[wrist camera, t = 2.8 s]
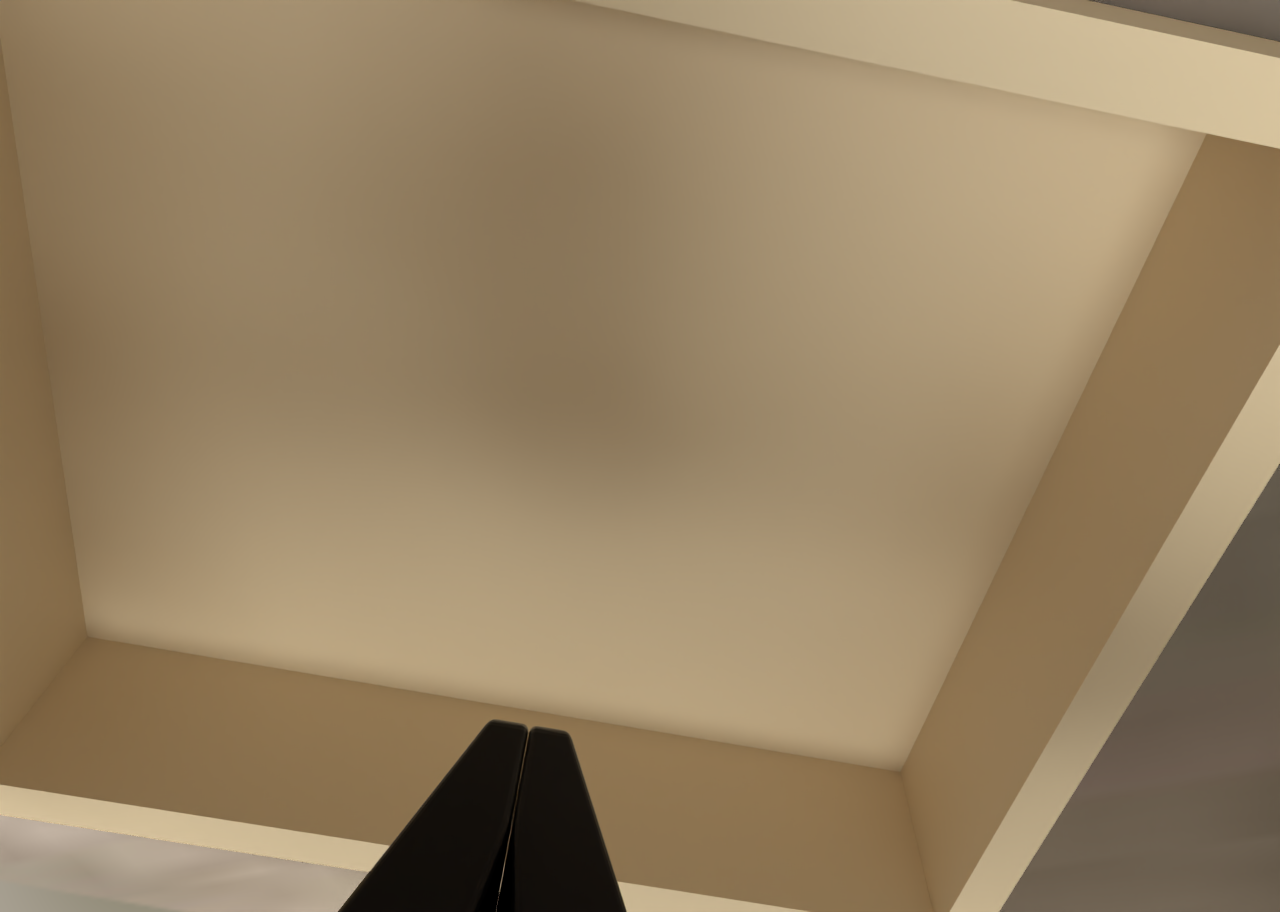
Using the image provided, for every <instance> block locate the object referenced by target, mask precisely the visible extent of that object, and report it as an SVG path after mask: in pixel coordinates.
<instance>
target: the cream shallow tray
mask: <svg viewBox="0 0 1280 912" xmlns="http://www.w3.org/2000/svg"><path fill="white" fill-rule="evenodd" d="M1279 464H1280V42H1278V41H1273V40H1269V39H1264V38H1260V37H1255V36H1250V35H1246V34H1241V33H1237V32H1232V31H1227V30H1223V29H1218V28H1214V27H1209V26H1204V25H1200V24H1195V23H1191V22H1186V21H1181V20H1177V19H1172V18H1167V17H1163V16H1158V15H1154V14H1149V13H1144V12H1140V11H1135V10H1131V9H1126V8H1121V7H1117V6H1112V5H1108V4H1103V3H1098V2H1094V1H1089V0H0V815H3V816H10V817H16V818H23V819H29V820H36V821H42V822H49V823H55V824H61V825H68V826H74V827H81V828H87V829H94V830H100V831H107V832H113V833H119V834H126V835H132V836H139V837H145V838H152V839H158V840H165V841H171V842H177V843H184V844H190V845H197V846H203V847H210V848H216V849H223V850H229V851H235V852H242V853H248V854H255V855H261V856H268V857H274V858H281V859H287V860H294V861H300V862H306V863H313V864H319V865H326V866H332V867H339V868H345V869H352V870H358V871H364V872H370V870H371V869H372V868H373V867H374V865H375V864H376V863H377V862H378V860H379V859H380V858H381V856H382V855H383V854H384V853H385V851H386V850H387V849H388V848H389V846H390V845H391V844H392V842H393V841H394V840H395V839H396V837H397V836H398V835H399V834H400V832H401V831H402V830H403V829H404V827H405V826H406V825H407V823H408V822H409V821H410V820H411V818H412V817H413V816H414V815H415V813H416V812H417V811H418V809H419V808H420V807H421V806H422V804H423V803H424V802H425V801H426V799H427V798H428V797H429V796H430V794H431V793H432V792H433V790H434V789H435V788H436V787H437V785H438V784H439V783H440V782H441V780H442V779H443V778H444V776H445V775H446V774H447V773H448V771H449V770H450V769H451V768H452V766H453V765H454V764H455V762H456V761H457V760H458V759H459V757H460V756H461V755H462V754H463V752H464V751H465V750H466V749H467V747H468V746H469V745H470V743H471V742H472V741H473V740H474V738H475V737H476V736H477V735H478V733H479V732H480V731H481V729H482V728H483V727H484V726H485V725H486V724H487V723H488V722H489V721H490V720H493V719H498V720H504V721H510V722H516V723H522V724H525V725H526V726H527V727H528V735H529V731H530V729H531V728H532V727H534V726H540V727H547V728H553V729H559V730H564V731H567V732H568V733H569V734H570V736H571V738H572V740H573V744H574V747H575V750H576V753H577V756H578V759H579V762H580V766H581V769H582V772H583V775H584V778H585V781H586V785H587V788H588V791H589V794H590V797H591V800H592V803H593V807H594V810H595V813H596V816H597V819H598V822H599V825H600V829H601V832H602V835H603V838H604V841H605V844H606V848H607V851H608V854H609V857H610V860H611V863H612V866H613V870H614V873H615V876H616V879H617V882H618V885H619V889H620V892H621V895H622V898H623V901H624V904H625V907H626V911H627V912H999V911H1000V909H1001V908H1002V906H1003V905H1004V903H1005V901H1006V900H1007V898H1008V897H1009V895H1010V893H1011V892H1012V890H1013V889H1014V887H1015V885H1016V884H1017V882H1018V881H1019V879H1020V877H1021V876H1022V874H1023V873H1024V871H1025V869H1026V868H1027V866H1028V865H1029V863H1030V861H1031V860H1032V858H1033V857H1034V855H1035V854H1036V852H1037V850H1038V849H1039V847H1040V846H1041V844H1042V842H1043V841H1044V839H1045V838H1046V836H1047V834H1048V833H1049V831H1050V830H1051V828H1052V826H1053V825H1054V823H1055V822H1056V820H1057V818H1058V817H1059V815H1060V814H1061V812H1062V810H1063V809H1064V807H1065V806H1066V804H1067V802H1068V801H1069V799H1070V798H1071V796H1072V794H1073V793H1074V791H1075V790H1076V788H1077V786H1078V785H1079V783H1080V782H1081V780H1082V778H1083V777H1084V775H1085V774H1086V772H1087V770H1088V769H1089V767H1090V766H1091V764H1092V762H1093V761H1094V759H1095V758H1096V756H1097V754H1098V753H1099V751H1100V750H1101V748H1102V746H1103V745H1104V743H1105V742H1106V740H1107V738H1108V737H1109V735H1110V734H1111V732H1112V730H1113V729H1114V727H1115V726H1116V724H1117V722H1118V721H1119V719H1120V718H1121V716H1122V714H1123V713H1124V711H1125V710H1126V708H1127V707H1128V705H1129V703H1130V702H1131V700H1132V699H1133V697H1134V695H1135V694H1136V692H1137V691H1138V689H1139V687H1140V686H1141V684H1142V683H1143V681H1144V679H1145V678H1146V676H1147V675H1148V673H1149V671H1150V670H1151V668H1152V667H1153V665H1154V663H1155V662H1156V660H1157V659H1158V657H1159V655H1160V654H1161V652H1162V651H1163V649H1164V647H1165V646H1166V644H1167V643H1168V641H1169V639H1170V638H1171V636H1172V635H1173V633H1174V631H1175V630H1176V628H1177V627H1178V625H1179V623H1180V622H1181V620H1182V619H1183V617H1184V615H1185V614H1186V612H1187V611H1188V609H1189V607H1190V606H1191V604H1192V603H1193V601H1194V599H1195V598H1196V596H1197V595H1198V593H1199V591H1200V590H1201V588H1202V587H1203V585H1204V583H1205V582H1206V580H1207V579H1208V577H1209V575H1210V574H1211V572H1212V571H1213V569H1214V567H1215V566H1216V564H1217V563H1218V561H1219V559H1220V558H1221V556H1222V555H1223V553H1224V552H1225V550H1226V548H1227V547H1228V545H1229V544H1230V542H1231V540H1232V539H1233V537H1234V536H1235V534H1236V532H1237V531H1238V529H1239V528H1240V526H1241V524H1242V523H1243V521H1244V520H1245V518H1246V516H1247V515H1248V513H1249V512H1250V510H1251V508H1252V507H1253V505H1254V504H1255V502H1256V500H1257V499H1258V497H1259V496H1260V494H1261V492H1262V491H1263V489H1264V488H1265V486H1266V484H1267V483H1268V481H1269V480H1270V478H1271V476H1272V475H1273V473H1274V472H1275V470H1276V468H1277V467H1278V465H1279ZM527 740H528V738H527ZM526 746H527V743H526ZM525 751H526V749H525ZM524 756H525V754H524ZM523 762H524V760H523ZM522 767H523V765H522ZM521 773H522V771H521ZM520 778H521V776H520ZM519 783H520V782H519ZM518 789H519V787H518ZM517 794H518V793H517ZM516 800H517V798H516ZM515 805H516V804H515ZM514 810H515V809H514ZM513 816H514V815H513ZM512 821H513V820H512ZM511 827H512V826H511ZM510 833H511V831H510ZM509 838H510V836H509ZM508 844H509V842H508ZM507 849H508V847H507ZM506 855H507V853H506ZM505 860H506V858H505ZM504 866H505V864H504ZM503 871H504V869H503ZM502 877H503V875H502ZM501 882H502V880H501ZM500 888H501V885H500ZM499 892H500V891H499Z"/></svg>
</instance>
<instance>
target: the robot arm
mask: <svg viewBox="0 0 1280 912" xmlns="http://www.w3.org/2000/svg"><path fill="white" fill-rule="evenodd" d="M527 738H528V740H527ZM526 743H527V746H526ZM525 749H526V751H525ZM524 754H525V756H524ZM523 760H524V762H523ZM522 765H523V767H522ZM521 771H522V773H521ZM520 776H521V778H520ZM519 782H520V783H519ZM518 787H519V789H518ZM517 793H518V794H517ZM516 798H517V800H516ZM515 804H516V805H515ZM514 809H515V810H514ZM513 815H514V816H513ZM512 820H513V821H512ZM511 826H512V827H511ZM510 831H511V833H510ZM509 836H510V838H509ZM508 842H509V844H508ZM507 847H508V849H507ZM506 853H507V855H506ZM505 858H506V860H505ZM504 864H505V866H504ZM503 869H504V871H503ZM502 875H503V877H502ZM501 880H502V882H501ZM500 885H501V888H500ZM499 891H500V893H499ZM498 896H499V899H498ZM497 902H498V904H497ZM496 907H497V910H496ZM338 912H627V911H626V907H625V904H624V901H623V898H622V895H621V892H620V889H619V885H618V882H617V879H616V876H615V873H614V870H613V866H612V863H611V860H610V857H609V854H608V851H607V848H606V844H605V841H604V838H603V835H602V832H601V829H600V825H599V822H598V819H597V816H596V813H595V810H594V807H593V803H592V800H591V797H590V794H589V791H588V788H587V785H586V781H585V778H584V775H583V772H582V769H581V766H580V762H579V759H578V756H577V753H576V750H575V747H574V744H573V740H572V738H571V736H570V734H569V733H568V732H567V731H564V730H559V729H553V728H547V727H540V726H534V727H532V728H531V729H530V731H529V735H528V727H527V726H526V725H525V724H522V723H516V722H510V721H504V720H498V719H493V720H490V721H489V722H488V723H487V724H486V725H485V726H484V727H483V728H482V729H481V731H480V732H479V733H478V735H477V736H476V737H475V738H474V740H473V741H472V742H471V743H470V745H469V746H468V747H467V749H466V750H465V751H464V752H463V754H462V755H461V756H460V757H459V759H458V760H457V761H456V762H455V764H454V765H453V766H452V768H451V769H450V770H449V771H448V773H447V774H446V775H445V776H444V778H443V779H442V780H441V782H440V783H439V784H438V785H437V787H436V788H435V789H434V790H433V792H432V793H431V794H430V796H429V797H428V798H427V799H426V801H425V802H424V803H423V804H422V806H421V807H420V808H419V809H418V811H417V812H416V813H415V815H414V816H413V817H412V818H411V820H410V821H409V822H408V823H407V825H406V826H405V827H404V829H403V830H402V831H401V832H400V834H399V835H398V836H397V837H396V839H395V840H394V841H393V842H392V844H391V845H390V846H389V848H388V849H387V850H386V851H385V853H384V854H383V855H382V856H381V858H380V859H379V860H378V862H377V863H376V864H375V865H374V867H373V868H372V869H371V870H370V872H369V873H368V874H367V875H366V877H365V878H364V879H363V881H362V882H361V883H360V884H359V886H358V887H357V888H356V889H355V891H354V892H353V893H352V895H351V896H350V897H349V898H348V900H347V901H346V902H345V903H344V905H343V906H342V907H341V909H340V910H339V911H338Z"/></svg>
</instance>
